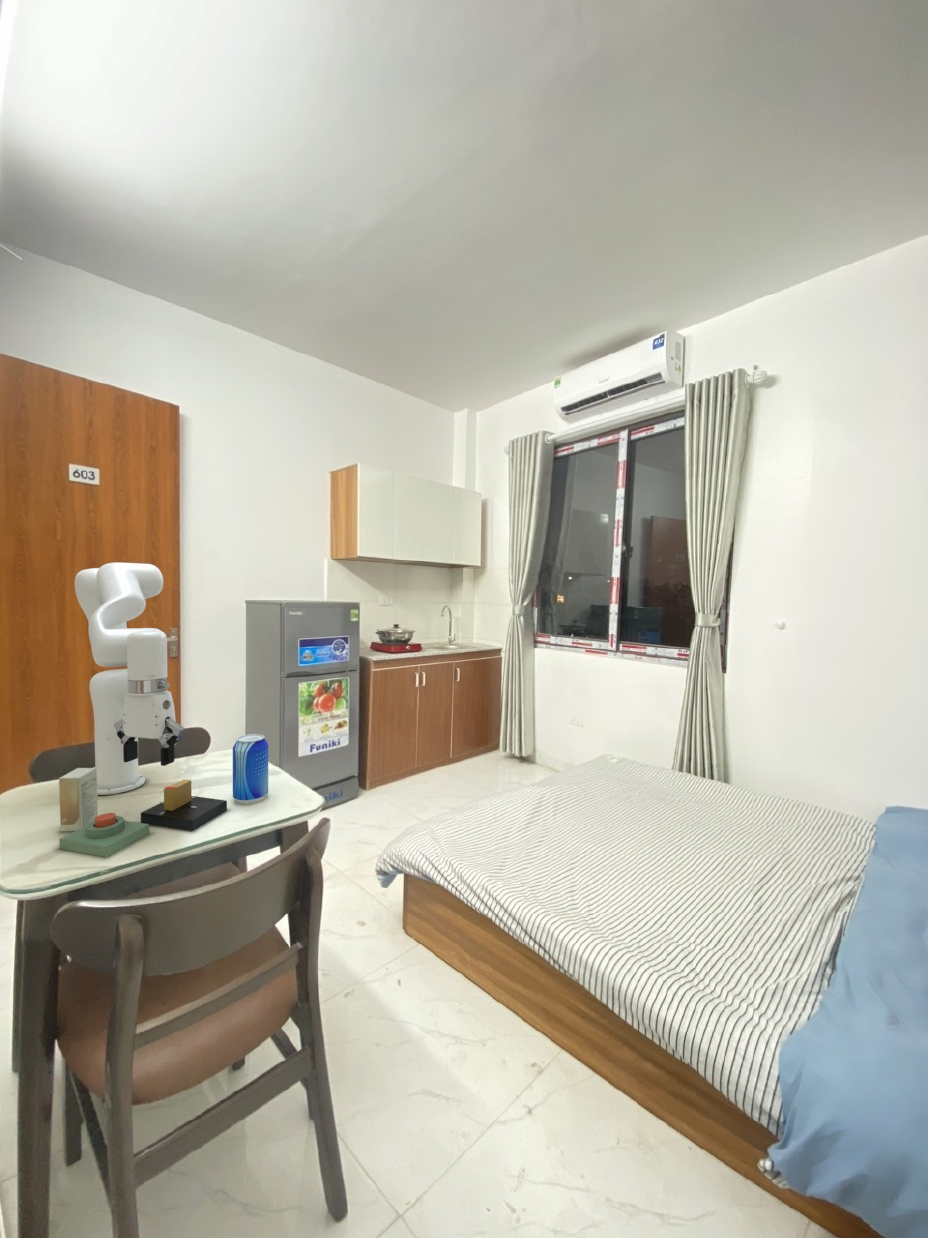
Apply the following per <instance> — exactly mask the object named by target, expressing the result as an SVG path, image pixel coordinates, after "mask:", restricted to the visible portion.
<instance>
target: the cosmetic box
mask: <svg viewBox="0 0 928 1238" xmlns="http://www.w3.org/2000/svg"><path fill="white" fill-rule="evenodd" d="M58 786H59V787H58V791H59V813H60V814H59V817H60V818H59V819H60V821H59V822H60V832H75V831H77V830H79V829H81V828H83V827H85V826H87V825H88V824H89V823H90V822H92V821H94V820H95V818H96V817H97V816H99V805H98V804H99V803H98V802H99V801H98V798H99V797H98V795H97V768H94V767H76V768H75V769H73V770H70V771H69V772H67V773H66V774H64V775H62V776H60V777H59V778H58Z"/></svg>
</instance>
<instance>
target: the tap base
mask: <svg viewBox="0 0 928 1238" xmlns="http://www.w3.org/2000/svg"><path fill="white" fill-rule="evenodd" d="M191 796H192V800H191V801H190V802H188V803H186V804H184V805H182V806H180V807H178V808H177V809H175V810H173V811H169V810H164V801H159V803H157V804H156V805H153V806H151V807H150V808H147V809H145V810H144V811H141V812H140V823H144V824H149V826H156V827H162V828H163V827H165V828H170V829H177V830H183V831H189V832H193V831H194V832H195V830H198V828H200V827H202V826H204V825H205V824H207V823H209V822H211V821H212V820H213V819H216V818H217V817H218V816H220V815H222V814H223V813H225V812H227V811H228V800H225V799H218V798H211V797H205V796H198V795H191Z"/></svg>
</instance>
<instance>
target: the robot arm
mask: <svg viewBox="0 0 928 1238" xmlns="http://www.w3.org/2000/svg"><path fill="white" fill-rule="evenodd" d="M163 588H164V575H163V573H162V572H161V570H160V569H159V568H158V567H157V566H156V565H154V564H151V563H140V562H139V563H138V562H137V563H136V562H120V561H119V562H118V561H117V562H108V563H105V564H103V565H101V566H100V567H94V568H93V567H91V568H85V569H82V570H80V571H79V572H78V573H76V575H75V578H74V591H75V596H76V598H77V602H78V603H79V606H80V607H81V610H82V611H83V613H84V615H85V617H86V619H87V622H88V629H87V630H88V631H87V632H88V638H89V643H90V646H91V647H90V648H91V654H92V659H93V661H94V663H95V664H96V665H97V666H99V667H102V668H116V669H108V670H104V671H100V672H97V673H96V674H93V676H92V677H91V678H90V681H89V683H88V684H89V687H88V688H89V694H90V700H91V704H92V710H93V724H94V730H93V731H94V767H93V768H97V796H107V795H108V796H109V795H115V794H123V793H124V792H129V791H132V790H135V789H137V788H139V787H141V786H143V785H144V783H145V782H146V776H145V775H143V774H140V773H139V739H147V740H158V742H159V743H160V744H161V746H162V747H161V748H160V766H162V767H166V766H168V765H170V764H172V763H175V746H176V745H177V744H178V742H179V741H180V740H181V738H182V735H183V733H184V730H185V727H184V726H183V725H181V724H180V723H178V722H177V721H176V720H177V719H176V710H175V704H174V699H173V695H172V692H171V691H169V690H168V689H169V688H170V687H171V683H170V682H168V677H169V676H168V637H167V635H166V633H165V632H164V631H162V630H161V629H159V628H155V627H141V628H140V627H138V628H135V627H133V628H131V627H130V628H128V625H127V622H129V621H131V620H134V619H136V618H138V617H139V616H141V615H142V614H143V613H144V611H145V609H146V607H147V606H146V605H147V602H146V600H147V599H150V598H154V597H156V596H158V595H160V593H161V592H162V590H163ZM117 667H118V669H117ZM121 667H126V668H121Z"/></svg>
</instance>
